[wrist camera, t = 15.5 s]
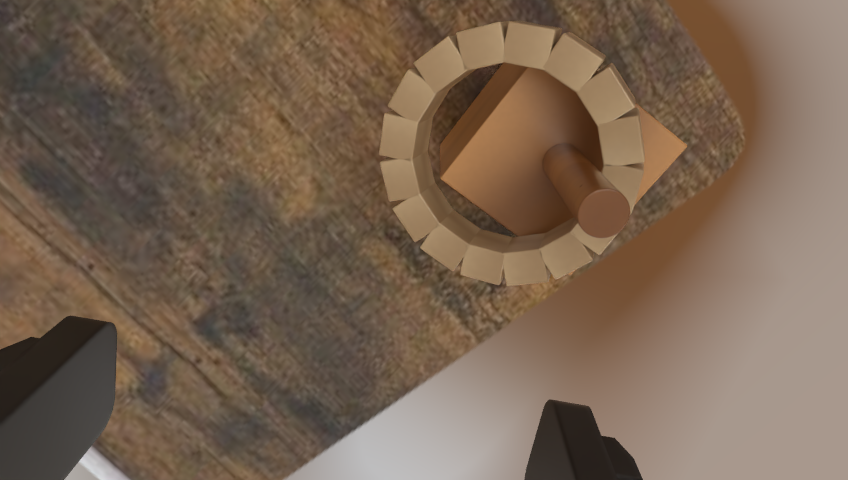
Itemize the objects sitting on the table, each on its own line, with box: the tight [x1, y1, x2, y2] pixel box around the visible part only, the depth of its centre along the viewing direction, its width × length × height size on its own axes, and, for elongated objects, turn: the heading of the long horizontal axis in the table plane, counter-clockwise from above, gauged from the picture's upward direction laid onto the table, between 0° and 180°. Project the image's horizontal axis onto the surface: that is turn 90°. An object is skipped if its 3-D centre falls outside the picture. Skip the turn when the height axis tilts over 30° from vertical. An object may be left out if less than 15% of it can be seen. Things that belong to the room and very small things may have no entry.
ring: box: [379, 21, 645, 286], centre depth 29 cm, size 11×11×2 cm
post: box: [440, 63, 687, 275], centre depth 30 cm, size 8×8×16 cm
